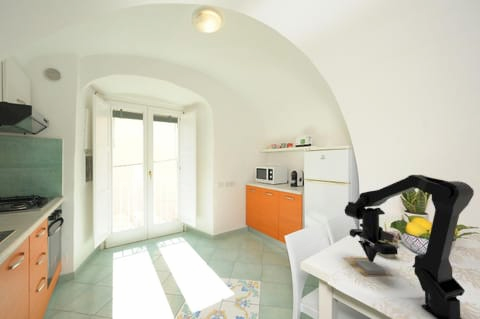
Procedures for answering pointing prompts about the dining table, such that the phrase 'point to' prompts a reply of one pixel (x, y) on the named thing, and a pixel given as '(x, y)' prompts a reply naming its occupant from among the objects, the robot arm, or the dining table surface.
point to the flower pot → (395, 243)
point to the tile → (370, 267)
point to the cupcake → (391, 233)
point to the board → (353, 263)
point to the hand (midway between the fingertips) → (371, 261)
